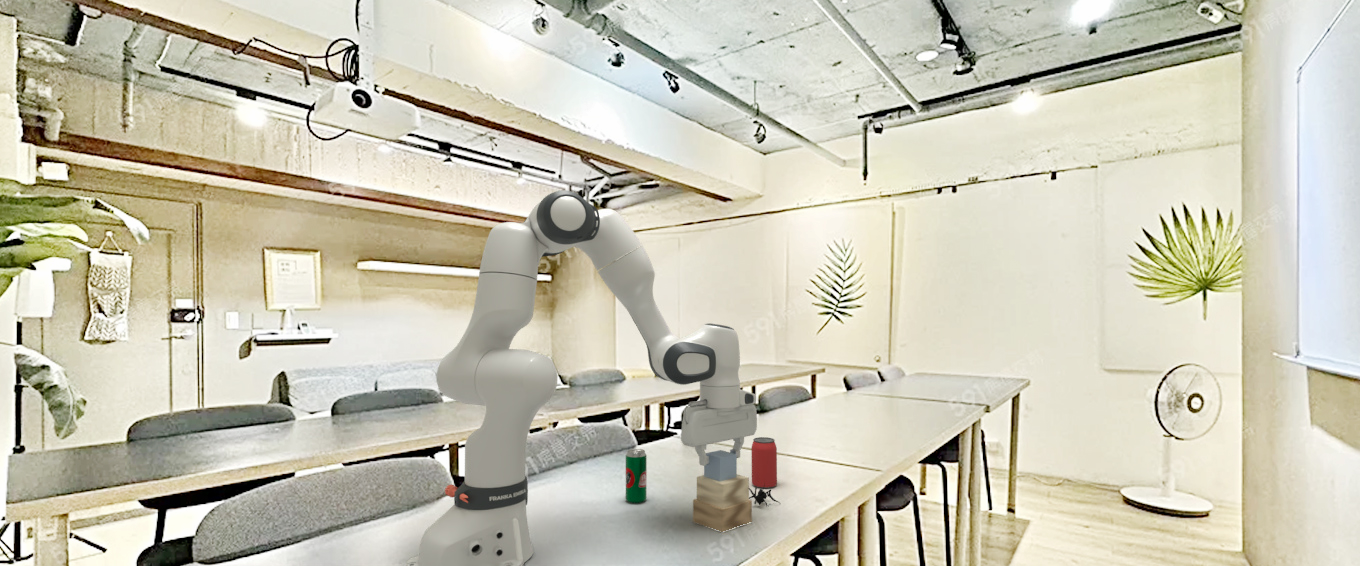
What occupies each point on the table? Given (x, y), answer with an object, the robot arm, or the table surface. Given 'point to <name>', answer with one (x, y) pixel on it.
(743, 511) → the block lower
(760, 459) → the beer can
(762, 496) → the creature
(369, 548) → the table surface
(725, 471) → the blue gray block
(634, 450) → the soda can
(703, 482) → the block upper
